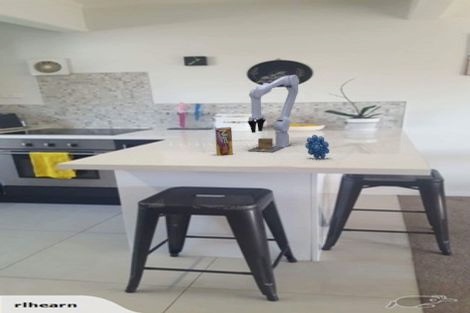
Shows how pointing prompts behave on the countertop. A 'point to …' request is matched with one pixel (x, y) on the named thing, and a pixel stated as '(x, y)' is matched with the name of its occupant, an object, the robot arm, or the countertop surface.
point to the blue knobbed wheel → (317, 146)
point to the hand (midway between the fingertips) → (256, 131)
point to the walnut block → (265, 143)
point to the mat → (266, 149)
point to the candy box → (223, 141)
